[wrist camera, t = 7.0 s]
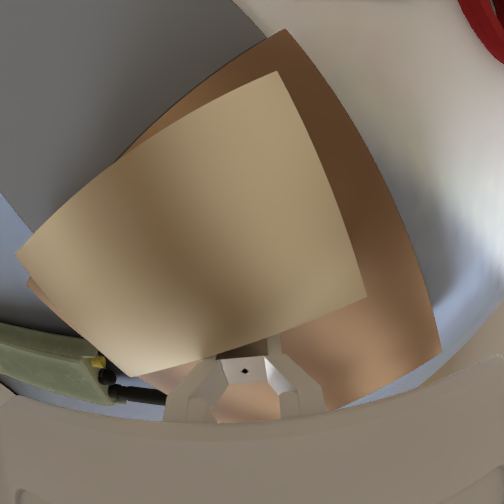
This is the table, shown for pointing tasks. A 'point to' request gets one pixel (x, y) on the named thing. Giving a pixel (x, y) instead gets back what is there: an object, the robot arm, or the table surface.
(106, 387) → the handheld radio
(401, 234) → the platform
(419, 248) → the table surface
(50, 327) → the table surface
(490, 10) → the digital clamp meter
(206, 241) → the tile
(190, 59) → the mat
